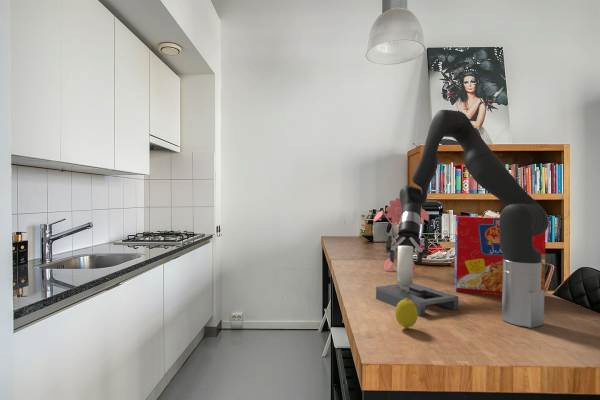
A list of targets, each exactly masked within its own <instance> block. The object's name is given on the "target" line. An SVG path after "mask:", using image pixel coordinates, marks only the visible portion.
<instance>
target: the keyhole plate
mask: <svg viewBox="0 0 600 400" xmlns="http://www.w3.org/2000/svg"><path fill="white" fill-rule="evenodd" d="M411 294H412V295H411ZM405 298H408V299H409V300H410V301H412V302H413V303H414V304H415V306H416V308H417V313H418V316H419V317H423V316H426V306H427V305H429V306H430V305H436V306H437V305H438V306H440V307H444V308H446V309H449V310H452V311H458V310H459V296H457V295H454V294H451V293H448V292H444V291H442V290H441V291H440V290H437V289H435V288H434V289H433V288H432V287H428V286H424V285H421V284H417V283H414V282H413V284H412V285H409V292H408V291H405V290H402V289H400V284H398V283H396V284H389V285H380V286H376V287H375V299H377V300H379V301H381V302H384V303H386V304H388V305H391V306H393V307H395V308H396V307H397V304H398V303H399V302H400V301H401V300H404V299H405ZM418 316H417V317H418Z"/></svg>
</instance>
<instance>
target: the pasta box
mask: <svg viewBox="0 0 600 400" xmlns="http://www.w3.org/2000/svg"><path fill="white" fill-rule="evenodd" d="M499 220H500V216H497V217H496V216H495V217H493V216H468V215H467V216H465V215H464V216H463V215H460V216H459V215H455V229H454V231H455V232H454V233H455V236H454V239H455V241H454V276H453V277H454V279H453V281H454V284H453V285H454V287H455V288H454V289H455V290H454V291H455V292H456V293H462V294H463V293H464V294H472V295H484V296H492V297H493V296H495V297H502V279H503V253H502V250H501V248H500V233H499ZM546 232H547V230H546V231H545V232H544V233H542V234H540V235H536V236H532V242H533V246H534V248H535V249H536V250H538V251H540V252H541V256H542V260H541V290H544V293H545V292H546V290H545V287H546V282H545V281H546V241H547V239H546V234H547V233H546Z"/></svg>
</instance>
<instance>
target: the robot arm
mask: <svg viewBox="0 0 600 400" xmlns="http://www.w3.org/2000/svg"><path fill="white" fill-rule="evenodd" d="M472 123H473V122H471V120H470V118H469V116H468V115H466V113H464V112H463V111H459V110H452V109H440V110H438V111H437V112H436V113H435V114H434V116H433V118H432V119H431V122H430V125H429V128H428V132H427V136H426V138H425V143H424V145H423V146H424V147H423V150H422V153H421V157H420V159H419V161H418V163H417V166H416V168H415V170H414V172H413V174H412V177H411V180H412V183H414V184H415V185H416V186H418V187H416V186H413V185H410V184H406V185H403V186H402V187H401V189H400V191H399V194H398V195H399V199H400V202H401V206H402V214H401V218H400V223H398V226H399V230H398V229H397V236H396V237H393V236H392V235H388V237H387V240H386V245H385V253H388V254H389V258H390V261H391V262H392V263H393V264H395V257H396V253H398V246H412V247H413V252H415V253H416V254H417V260H416V263H417V264H416V265H418V266H420V265H421V264H422V263H423V256H429V238H428V237H425V238H424V239H423V238H422V239H421V238H420V232H421V224H422V223H421V222H422V221H421V209H422V208H421V207H422V206H424V205H425V204H426V202H427V200H428V191H429V186H430V184H431V182H432V180H433V177H434V176H435V174H436V172H437V169H438V165H439V157H438V151H439V146H440V144H441V143H442V140H443V139H444V138H453V139H454V140H455V141H456V142H457V143H458V145H459V146H460V147H461V148H462V151H463V162H464V167H465V169H466V171H467V172H468V173H469V175H470V176H471V178H472V179H473V180H474V181H475V182H476V184H478V185H479V186H480V187H481V188H483V189H484V190H485V191H487V192H488V193H489V194H491V195H493V196H494V197H495V198H497V199H498V200H499V201H500V202H501V203H502V204H503V205H504V206H505V207H504V208H503V209H502V211H501V212H500V215H499V217H500V220H499V233H500V248H501V250H502V253H503V279H502V296H501V320H503V321H504V322H507V323H508V324H512V325H515V326H520V327H526V328H528V329H529V328H530V329H531V328H532V329H533V328H538V327H539V326H544V325H545V292H544V290H541V260H542V256H541V252H540V251H538V250H536V249H535V248H534V246H533V242H532V236H536V235H540V234H542V233H544V232H545V231H546V232H547V230H548V227H549V223H550V221H549V216H548V213H547V212H546V210H545V209H544V208H543V206H541V204H539V203H538V201H536V200H535V199H534V198H533V197H532V196H531V195H530V194H529V193H528V192H527V191H526V190H525V189H524V188H523V187H522V186H521V185H520V183H518V181H517V180H516V179H515V177H514V176H513V175H512V173H511V172H510V171H509V170H508V168H506V167H505V165H504V164H503V162H502V161H501V160H500V159H499V157H498V156H497V155H496V154H495V152H494V151H493V150H492V149H491V147H489V145H488V144H487V143H486V142H485V140H484V139H483V137H481V136H480V135H479V132H478V131H477V130H476V128H475V127H474V125H473V124H472ZM419 187H420V188H419ZM395 242H396V243H395ZM393 243H394V244H393ZM391 244H392V245H393V246H392V245H391ZM420 244H421V245H422V246H423V248H424V249H422V248H421V247H420Z"/></svg>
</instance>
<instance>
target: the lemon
mask: <svg viewBox="0 0 600 400" xmlns="http://www.w3.org/2000/svg"><path fill="white" fill-rule="evenodd" d="M395 319H396V321H397V323H398V324H399V325H400V326H402V327H403V328H404V329H405V330H408V329H409V328H411V327H413V326H414V325H415V324H416V323H417V321H418V313H417V308H416V306H415V304H414V303H413V302H412V301H410V300H409V299H408V298H405V299H404V300H401V301H400V302H399V303H398V304H397V307H396V306H395Z"/></svg>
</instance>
